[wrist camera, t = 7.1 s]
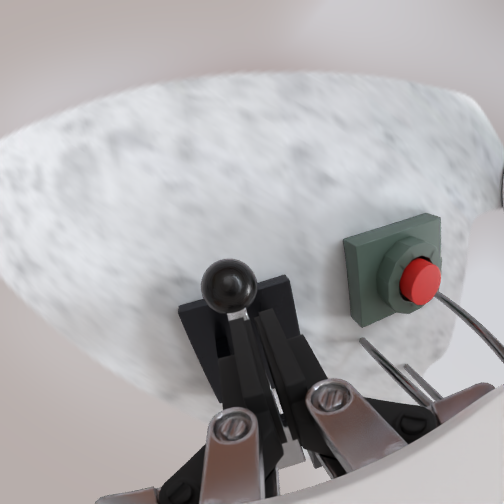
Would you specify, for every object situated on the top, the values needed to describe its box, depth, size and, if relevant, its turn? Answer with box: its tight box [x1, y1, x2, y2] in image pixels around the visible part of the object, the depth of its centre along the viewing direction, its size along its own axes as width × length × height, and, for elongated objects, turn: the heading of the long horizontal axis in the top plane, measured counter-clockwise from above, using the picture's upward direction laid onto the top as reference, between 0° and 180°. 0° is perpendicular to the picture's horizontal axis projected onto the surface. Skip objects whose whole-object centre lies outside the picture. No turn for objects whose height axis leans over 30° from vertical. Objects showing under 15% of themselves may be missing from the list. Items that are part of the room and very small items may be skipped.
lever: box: [201, 259, 306, 470], centre depth 15 cm, size 13×3×3 cm
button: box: [399, 258, 441, 305], centre depth 21 cm, size 4×4×2 cm
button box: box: [343, 213, 442, 328], centre depth 23 cm, size 10×8×4 cm
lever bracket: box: [178, 275, 322, 468], centre depth 18 cm, size 11×9×13 cm
